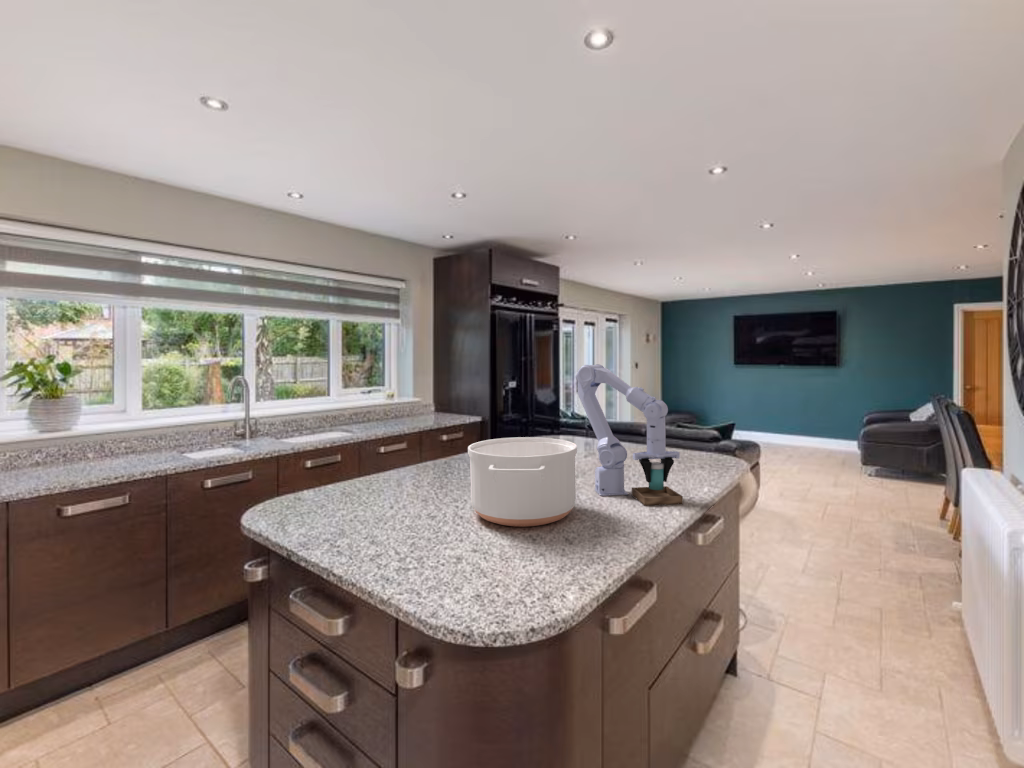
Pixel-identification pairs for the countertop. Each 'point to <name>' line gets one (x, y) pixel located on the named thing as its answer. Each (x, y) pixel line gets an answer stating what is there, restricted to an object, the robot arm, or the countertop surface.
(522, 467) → the pot
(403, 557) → the countertop surface
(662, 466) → the shaker
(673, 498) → the tray
